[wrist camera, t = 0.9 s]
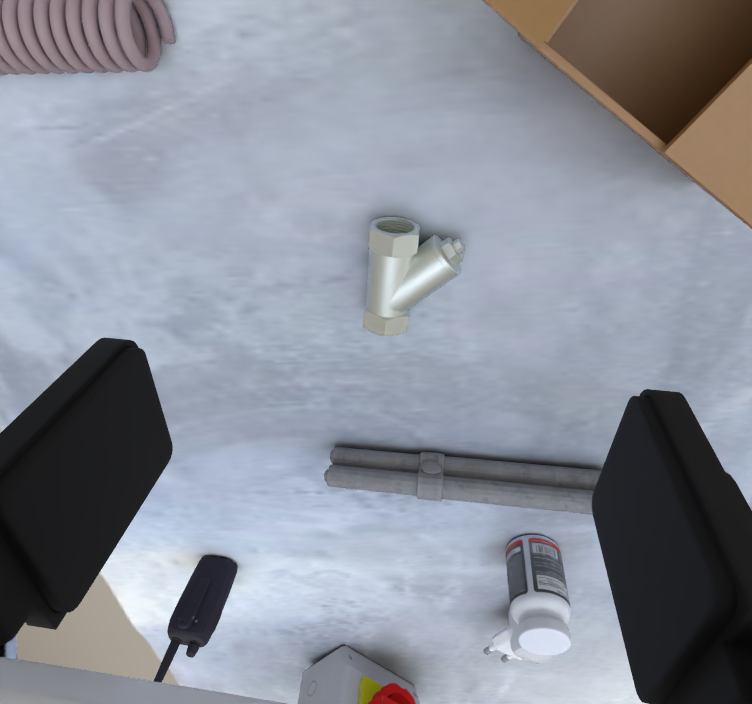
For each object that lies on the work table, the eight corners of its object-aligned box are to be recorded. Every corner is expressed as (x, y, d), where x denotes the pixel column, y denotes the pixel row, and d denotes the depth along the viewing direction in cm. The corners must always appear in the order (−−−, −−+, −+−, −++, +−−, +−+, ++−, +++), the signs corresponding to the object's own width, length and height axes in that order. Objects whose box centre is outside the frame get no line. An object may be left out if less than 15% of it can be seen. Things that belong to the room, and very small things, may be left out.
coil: (-111, 84, 33) (151, 79, 30) (-164, -4, 30) (122, -18, 27) (-55, 67, 36) (184, 62, 34) (-97, -13, 33) (162, -26, 31)
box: (517, 34, 30) (535, 48, 22) (712, -244, 23) (848, -381, 15) (695, 183, 33) (771, 244, 25) (914, -25, 26) (1122, -36, 18)
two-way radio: (201, 566, 68) (142, 692, 55) (195, 546, 65) (132, 672, 53) (242, 572, 67) (191, 700, 55) (237, 552, 65) (183, 681, 52)
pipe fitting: (465, 222, 37) (373, 213, 37) (470, 244, 34) (368, 234, 34) (449, 317, 42) (366, 309, 42) (451, 344, 39) (361, 335, 39)
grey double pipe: (606, 461, 47) (619, 505, 43) (599, 482, 49) (611, 526, 45) (332, 437, 51) (320, 475, 47) (334, 457, 52) (322, 495, 48)
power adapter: (508, 635, 66) (511, 685, 61) (476, 621, 65) (477, 670, 60) (567, 598, 60) (575, 651, 55) (532, 582, 59) (538, 634, 54)
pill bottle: (517, 569, 58) (525, 661, 50) (496, 538, 56) (501, 630, 48) (568, 559, 56) (585, 654, 48) (549, 527, 53) (563, 622, 45)
